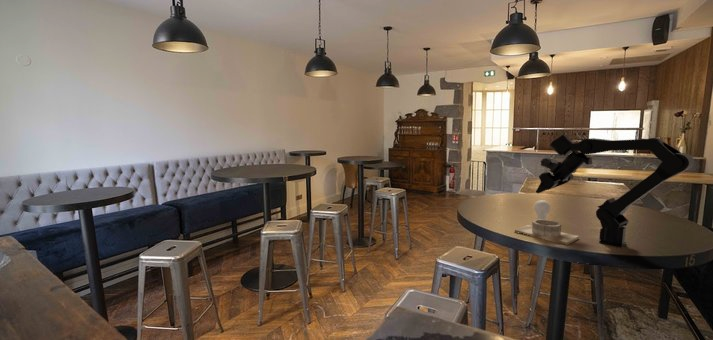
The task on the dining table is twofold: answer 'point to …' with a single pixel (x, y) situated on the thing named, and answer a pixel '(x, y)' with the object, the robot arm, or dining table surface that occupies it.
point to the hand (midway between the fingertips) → (542, 190)
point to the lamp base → (556, 239)
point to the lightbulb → (542, 209)
